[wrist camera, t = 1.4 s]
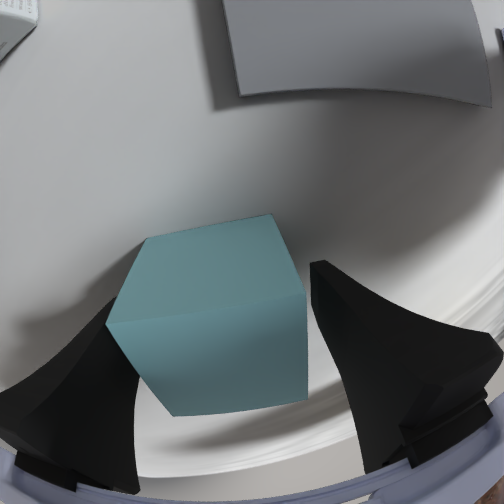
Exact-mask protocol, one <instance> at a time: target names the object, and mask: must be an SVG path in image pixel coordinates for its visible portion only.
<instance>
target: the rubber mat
mask: <svg viewBox="0 0 504 504" xmlns="http://www.w3.org/2000/svg"><path fill="white" fill-rule="evenodd" d="M222 5H223V10H224V16H225V21H226V27H227V32H228V37H229V43H230V48H231V54H232V60H233V65H234V71H235V77H236V82H237V88H238V94H239V97H244V96H251V95H259V94H267V93H277V92H288V91H302V90H326V89H356V90H380V91H393V92H404V93H413V94H421V95H428V96H434V97H440V98H446V99H451V100H456V101H461V102H466V103H470V104H474V105H478V106H484V107H489V108H492V101H491V89H490V80H489V73H488V66H487V60H486V55H485V50H484V45H483V40H482V36H481V32H480V28H479V24H478V21H477V17H476V14H475V11H474V8H473V5H472V2H471V0H222Z"/></svg>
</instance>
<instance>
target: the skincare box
mask: <svg viewBox="0 0 504 504" xmlns="http://www.w3.org/2000/svg"><path fill="white" fill-rule="evenodd" d="M37 21H38V6H37V0H0V61H1V60H2V59H3V58H4V56H5V55H6V54H7V53H8V52H9V51H10V50H11V49H12V48H13V47H14V46H15V45H16V44H17V43H19V42H20V41H21V40H22V39H23V38H24V37H25V36H26V35H27V34H28V33H29V32H30V31H31V30H32V29H33V28H34V27H35V26H36V25H37Z"/></svg>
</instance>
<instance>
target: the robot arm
mask: <svg viewBox="0 0 504 504" xmlns="http://www.w3.org/2000/svg"><path fill="white" fill-rule="evenodd" d="M502 35H503V40H504V28H502ZM310 283H311V305H312V308H313V312H314V315H315V318H316V321H317V324H318V327H319V329H320V331H321V333H322V336H323V338H324V340H325V342H326V344H327V346H328V349H329V351H330V353H331V355H332V357H333V359H334V362H335V364H336V366H337V368H338V370H339V373H340V375H341V378H342V381H343V384H344V387H345V391H346V394H347V397H348V400H349V404H350V408H351V411H352V415H353V418H354V422H355V427H356V431H357V435H358V439H359V444H360V449H361V454H362V459H363V465H364V471H365V474H366V475H363V476H360V477H357V478H354V479H351V480H348V481H344V482H341V483H338V484H334V485H331V486H327V487H323V488H319V489H315V490H310V491H306V492H301V493H296V494H290V495H284V496H278V497H271V498H263V499H254V500H242V501H223V502H193V501H174V500H163V499H153V498H146V497H139V496H133V495H135V494H137V493H138V492H139V491H140V485H139V481H138V475H137V468H136V460H135V449H134V408H135V399H136V394H137V388H138V383H139V378H140V375H139V374H138V372H137V371H136V370H135V368H134V367H133V365H132V364H131V363H130V361H129V360H128V358H127V357H126V355H125V354H124V352H123V351H122V349H121V348H120V346H119V345H118V343H117V342H116V340H115V339H114V337H113V335H112V334H111V332H110V331H109V329H108V327H107V326H106V321H107V319H108V317H109V314H110V312H111V310H112V308H113V305H114V303H115V301H116V299H117V297H115V298H113V299H112V300H111V301H110V302H109V303H108V304H107V305H106V306H105V307H104V308H103V309H102V310H101V311H100V312H99V313H98V314H97V315H96V316H95V317H94V318H93V319H92V320H91V321H90V322H89V323H88V324H87V325H86V326H85V327H84V328H83V329H82V330H81V331H80V332H79V333H78V334H77V335H76V336H75V337H74V338H73V340H72V341H71V342H70V343H69V344H68V345H67V346H66V347H64V348H63V349H62V350H61V351H60V352H59V353H58V354H57V355H56V356H54V357H53V358H52V359H51V360H50V361H49V362H47V363H46V364H45V365H43V366H42V367H41V368H39V369H38V370H37V371H36V372H34V373H33V374H32V375H30V376H29V377H27V378H26V379H24V380H22V381H21V382H19V383H18V384H16V385H14V386H12V387H11V388H9V389H7V390H5V391H3V392H1V393H0V438H1V439H3V440H4V441H5V442H6V443H8V444H9V445H10V446H12V447H13V448H15V449H16V450H17V455H15V454H13V453H11V452H9V451H7V450H6V449H4V448H2V447H0V500H1V501H2V502H4V503H5V504H341V503H344V502H347V501H350V500H354V499H357V498H360V497H362V496H366V495H368V494H371V493H372V494H371V495H370V497H369V499H368V501H365V502H362V503H359V504H474V503H475V502H476V501H477V500H478V499H479V498H480V497H482V496H483V495H484V494H485V493H486V492H487V491H488V490H489V489H490V488H491V487H492V486H493V485H494V484H495V483H496V482H497V481H498V480H499V479H500V478H501V477H502V476H503V475H504V392H503V393H502V394H500V395H499V396H498V397H497V398H495V399H494V400H493V401H492V402H491V403H490V404H489V405H487V403H486V402H485V400H484V399H486V398H487V396H488V394H487V392H486V390H485V389H484V387H485V385H486V384H487V383H488V381H489V380H490V379H491V377H492V376H493V375H494V373H495V372H496V371H497V369H498V368H499V366H500V364H501V362H502V360H503V355H504V352H503V351H502V349H501V348H500V347H499V345H498V344H497V343H496V341H495V340H494V339H493V338H492V336H491V335H490V334H489V333H486V332H480V331H475V330H469V329H464V328H459V327H456V326H452V325H448V324H445V323H441V322H438V321H435V320H432V319H429V318H427V317H424V316H421V315H419V314H416V313H414V312H411V311H409V310H407V309H405V308H403V307H401V306H398V305H396V304H394V303H392V302H390V301H388V300H386V299H385V298H383V297H381V296H379V295H378V294H376V293H374V292H372V291H371V290H369V289H368V288H366V287H364V286H363V285H361V284H360V283H358V282H357V281H355V280H354V279H352V278H351V277H349V276H348V275H346V274H345V273H343V272H342V271H341V270H339V269H338V268H336V267H335V266H333V265H332V264H331V263H329V262H328V261H326V260H322V261H317V262H312V263H310ZM104 489H106V490H104ZM108 490H110V491H108ZM112 491H116V492H112ZM117 492H121V493H117ZM122 493H126V494H122ZM127 494H132V495H127Z"/></svg>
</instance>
